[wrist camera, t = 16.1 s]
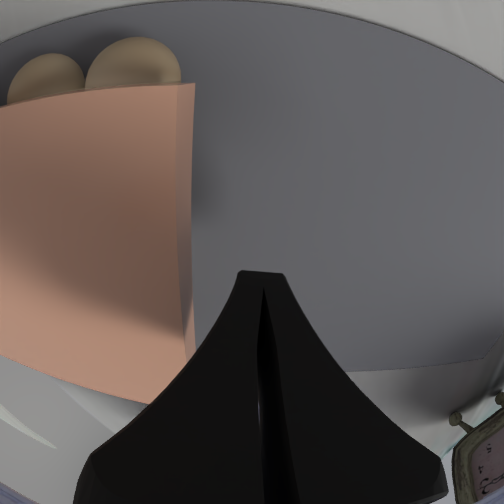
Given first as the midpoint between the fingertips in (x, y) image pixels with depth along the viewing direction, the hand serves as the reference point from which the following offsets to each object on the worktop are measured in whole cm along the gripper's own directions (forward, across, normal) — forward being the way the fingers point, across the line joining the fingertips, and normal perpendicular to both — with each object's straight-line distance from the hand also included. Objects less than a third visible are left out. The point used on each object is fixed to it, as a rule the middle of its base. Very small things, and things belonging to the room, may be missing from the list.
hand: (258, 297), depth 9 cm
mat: (+4, +1, 0) cm, 4 cm away
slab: (+1, +10, 0) cm, 10 cm away
